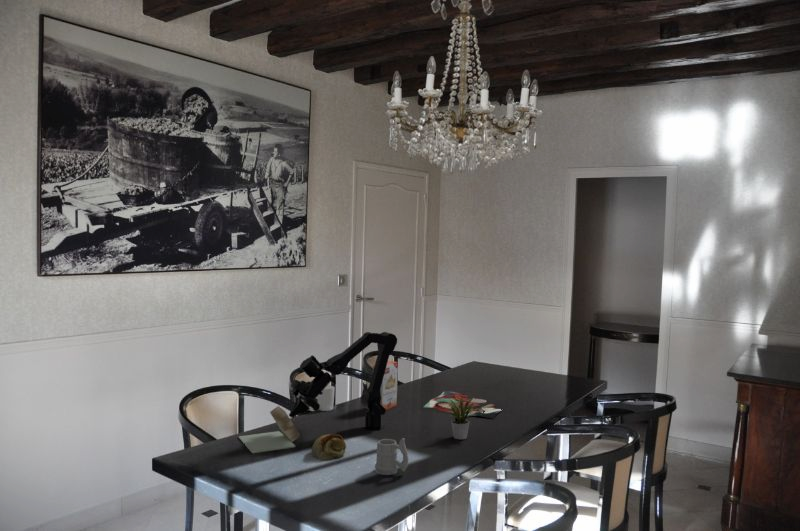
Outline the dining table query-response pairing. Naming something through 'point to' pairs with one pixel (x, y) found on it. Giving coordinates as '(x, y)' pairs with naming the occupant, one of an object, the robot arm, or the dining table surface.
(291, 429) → the tan rounded block
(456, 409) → the house plant
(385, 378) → the cracker box
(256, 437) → the mat
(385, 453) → the mug
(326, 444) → the pastry
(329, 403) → the white cup
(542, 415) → the dining table surface
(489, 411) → the multicolor patterned cloth
